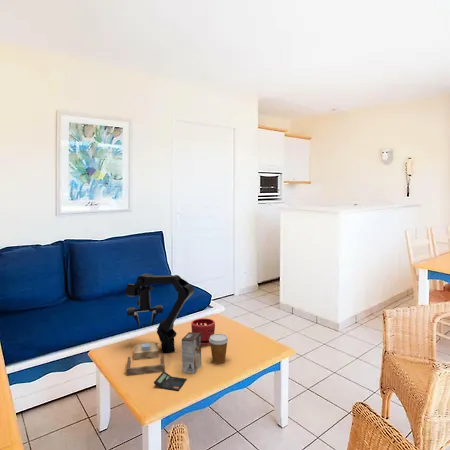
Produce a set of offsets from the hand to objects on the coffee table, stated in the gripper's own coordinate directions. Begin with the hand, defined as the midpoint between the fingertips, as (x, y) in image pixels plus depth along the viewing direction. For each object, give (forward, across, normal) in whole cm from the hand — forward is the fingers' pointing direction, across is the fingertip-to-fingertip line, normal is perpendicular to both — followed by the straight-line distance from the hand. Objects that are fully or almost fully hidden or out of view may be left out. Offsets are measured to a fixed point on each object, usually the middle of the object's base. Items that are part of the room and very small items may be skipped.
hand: (145, 325), depth 191 cm
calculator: (+13, -10, +40) cm, 43 cm away
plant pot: (+12, -31, +2) cm, 34 cm away
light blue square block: (+8, 0, +10) cm, 13 cm away
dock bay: (+12, 0, +22) cm, 25 cm away
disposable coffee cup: (+12, -35, +24) cm, 45 cm away
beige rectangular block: (+12, 0, +9) cm, 15 cm away
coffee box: (+12, -21, +29) cm, 38 cm away
